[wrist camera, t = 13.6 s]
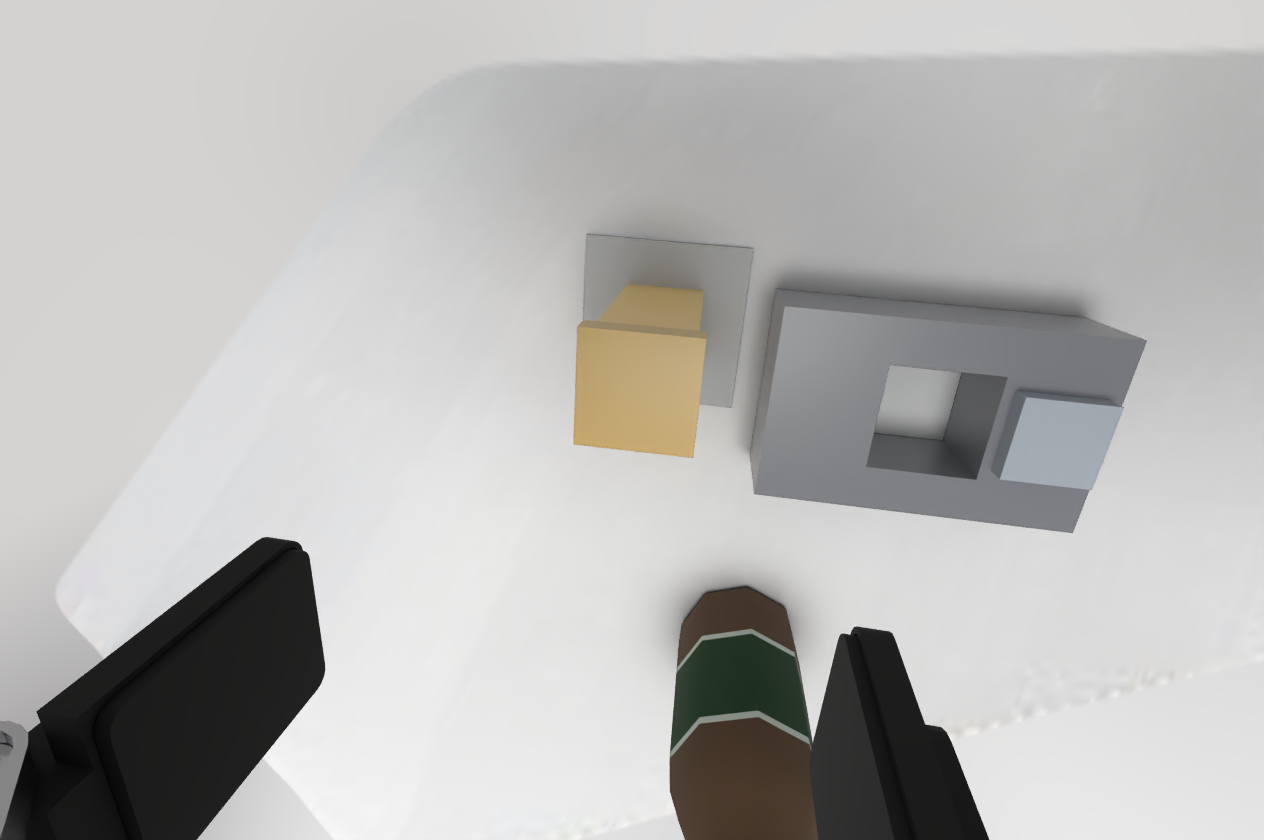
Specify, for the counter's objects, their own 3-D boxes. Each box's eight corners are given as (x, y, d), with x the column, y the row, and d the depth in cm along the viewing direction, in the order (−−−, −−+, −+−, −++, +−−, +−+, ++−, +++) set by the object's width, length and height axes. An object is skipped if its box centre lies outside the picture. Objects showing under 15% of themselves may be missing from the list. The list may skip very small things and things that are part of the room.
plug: (710, 285, 34) (706, 338, 23) (700, 369, 36) (693, 457, 25) (623, 277, 35) (577, 326, 23) (618, 361, 36) (573, 444, 25)
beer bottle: (672, 664, 44) (629, 1156, 22) (689, 573, 41) (657, 1033, 19) (783, 684, 44) (853, 1210, 21) (807, 593, 41) (917, 1092, 19)
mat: (753, 248, 33) (753, 249, 33) (731, 406, 37) (731, 407, 36) (587, 234, 34) (586, 234, 34) (580, 389, 38) (579, 391, 37)
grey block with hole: (1086, 317, 33) (1161, 346, 27) (1027, 487, 36) (1083, 543, 31) (775, 288, 34) (787, 310, 28) (749, 455, 38) (755, 503, 32)
